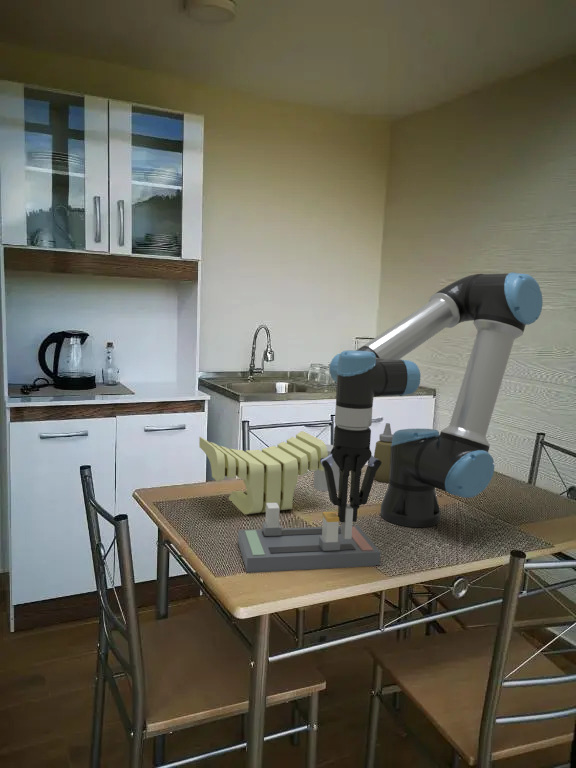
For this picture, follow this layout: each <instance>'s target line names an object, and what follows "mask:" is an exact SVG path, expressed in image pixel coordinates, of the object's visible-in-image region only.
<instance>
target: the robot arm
mask: <svg viewBox="0 0 576 768" xmlns="http://www.w3.org/2000/svg"><path fill="white" fill-rule="evenodd" d="M542 309H543V293H542V290H541V287H540V284H539V283H538V281H537V280H536V279H535V278H534V276H532V275H530V274H527V273H518V272H509V273H506V272H505V273H475V274H471V275H467V276H465V277H462V278H460V279H458V280H456V281H453V282H452V283H450V284H448V285H446V286H444V287H443V288H441V289H440V290H438V291H437V292H436V293H433V294H432V295H431V296H430V297H429V300H428V302H427V303H426V304H424V305H423V306H421V307H420V308H418V309H417V310H415V311H414V312H412V313H411V314H410V315H408V316H406V317H405V318H403V319H401V320H400V321H399V322H396V323H395V324H394V325H393V326H391V327H389V328H388V329H386V330H385V331H383V332H382V333H381V334H379V335H377V336H376V337H374V338H373V339H372V340H370V341H368V342H366V344H364V345H362V346H361V347H359V348H357V349H356V350H354V349H353V350H342V351H341V352H340V353H338V354H336V355H335V356H334V357H333V358H332V359H331V361H330V364H329V374H330V377H331V378H332V380H333V382H335V383H336V397H335V412H334V414H335V415H334V424H335V426H334V429H333V444H332V445H333V449H332V450H331V455H329V456H328V457H326V458H325V459H324V458H321V459H320V463H321V465H322V466H323V468H324V471H325V476H326V482H327V487H328V492H327V493H328V497H329V501H330V502H331V504H333V506H337V516H338V517H339V522H340V523H341V525H340V526H341V535H342V536H343V537H344V539H351V538H352V526H353V523H356V522H357V520H358V510H359V509H360V507H361V506H362V505H367V503H368V501H369V497H370V494H371V490H372V487H373V484H374V479H375V474H376V471H377V470H378V468H379V467H380V465H381V461H380V460H379V459H377V458H376V457H374V455H372V454H373V453H372V450H371V437H372V429H371V428H370V427H371V426H372V422H373V405H374V404H373V403H374V398H375V397H390V396H391V397H392V396H395V397H397V396H399V397H402V396H406V395H411V394H414V393H415V392H416V391H417V390H418V388H419V387H420V385H421V377H422V376H421V370H420V368H419V366H418V365H417V364H416V363H415V362H414V361H412V360H410V359H409V360H405V359H402V358H404V357H405V356H406V355H408V354H409V353H411V352H412V351H414V350H415V349H417V348H418V347H420V346H421V345H422V344H424V343H426V342H427V341H429V339H431V338H432V337H434V336H435V335H437V334H438V333H440V332H441V331H443V330H445V329H451V328H454V327H455V326H457V325H458V324H460V323H464V322H469V321H472V323H473V325H474V327H475V329H476V330H477V331H476V335H475V339H474V341H473V342H474V343H473V344H472V349H471V352H470V355H469V358H468V362H467V365H466V368H465V371H464V376H463V377H462V378H463V379H462V383H461V386H460V388H459V389H460V390H459V392H458V395H457V398H456V402H455V406H454V410H453V412H452V415H451V419H450V422H449V425H448V426H447V427H445V428H443V429H442V430H440V431H439V430H437V429H434V428H433V429H432V428H405V429H398V430H396V431H395V432H393V434H392V435H393V438H392V444H391V458H390V479H389V482H388V488H387V490H386V492H385V494H384V496H383V500H382V502H381V503H380V504H381V505H380V512H379V513H380V514H379V515H380V517H381V518H383V519H384V520H385V521H387V522H389V523H391V524H394V525H398V526H403V527H408V528H409V527H410V528H426V527H433V526H435V525H437V524H439V523H440V520H441V509H440V505H439V501H438V497H437V493H436V489H438V490H441V491H443V492H445V493H448V494H449V495H450V496H451V495H453V496H456V497H457V496H458V497H461V498H464V499H468V498H474V497H476V496H478V495H480V493H482V492H484V490H486V488H487V487H488V486H489V484H490V483H491V481H492V479H493V476H494V473H495V464H494V463H495V461H494V457H493V456H492V455H491V454H490V453H489V450H490V446H491V445H490V442H489V441H488V440H487V433H488V430H489V426H490V422H491V419H492V416H493V412H494V409H495V407H496V402H497V399H498V396H499V392H500V389H501V385H502V383H503V379H504V376H505V372H506V369H507V364H508V362H509V358H510V355H511V352H512V348H513V345H514V342H515V340H516V339H518V338H520V337H522V336H523V335H524V331H525V328H526V327H527V325H528V326H529V325H531V324H533V323H535V322H536V321H537V320H538V319H539V318H540V315H541V313H542ZM333 460H334V461H335V463H336V464H337V466H338V467H339V490H338V491H336V486H335V480H334V475H333V470H332V468H331V467H332V466H333ZM366 464H367V466H366ZM365 466H366V469H365V473H364V477H363V480H362V483H361V477H362V472H363V470H362V469H363V468H364V467H365ZM349 477H350V486H349ZM360 486H361V487H360ZM349 488H350V491H349V503H348V489H349Z"/></svg>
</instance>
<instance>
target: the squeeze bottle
mask: <svg viewBox="0 0 576 768" xmlns="http://www.w3.org/2000/svg"><path fill="white" fill-rule="evenodd" d="M392 438H393V434H392V429H391V424H390V422H389V423H388V422H387V423H386V422H385V426H384V430H383V433H380V434H379V440H378V441H376V442H375V447H374V448H375V449H374V455H373V457H376V458H377V459H379V460H380V461H381V465H380V467H379V468H378V470H377V471H376V474H375V477H374V479H375V480H376V481H377V482H380V483H389V479H390V458H391V444H392Z"/></svg>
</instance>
